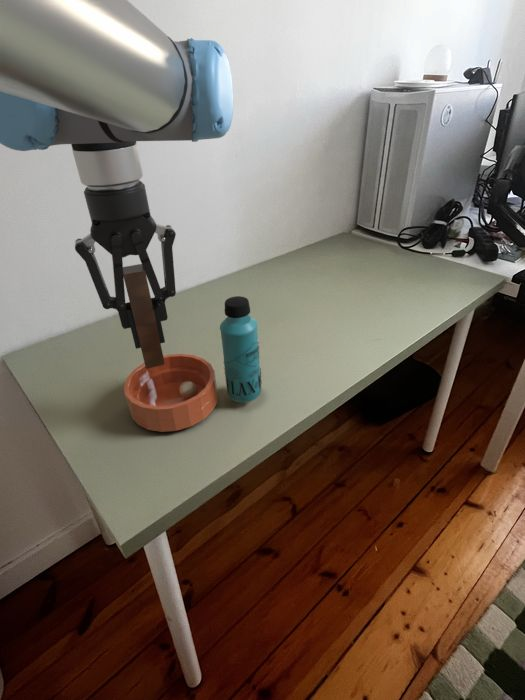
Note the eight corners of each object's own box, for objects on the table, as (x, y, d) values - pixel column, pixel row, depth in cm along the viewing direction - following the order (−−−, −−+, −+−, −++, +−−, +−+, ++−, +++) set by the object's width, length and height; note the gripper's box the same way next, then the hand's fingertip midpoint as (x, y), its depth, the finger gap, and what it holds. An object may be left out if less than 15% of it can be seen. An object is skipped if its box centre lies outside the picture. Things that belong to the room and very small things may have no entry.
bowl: (178, 448, 70) (172, 421, 66) (113, 416, 77) (104, 389, 74) (235, 394, 80) (232, 368, 77) (173, 370, 88) (167, 345, 85)
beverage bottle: (221, 405, 78) (208, 307, 67) (236, 383, 83) (226, 289, 72) (254, 413, 76) (246, 313, 65) (268, 390, 81) (263, 293, 70)
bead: (198, 394, 76) (190, 378, 77) (182, 402, 77) (174, 386, 77) (202, 392, 80) (194, 377, 80) (186, 400, 80) (179, 385, 80)
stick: (162, 355, 71) (142, 263, 62) (165, 364, 69) (145, 270, 60) (143, 359, 70) (121, 267, 62) (146, 369, 68) (123, 274, 59)
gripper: (171, 170, 60) (195, 320, 72) (47, 185, 55) (95, 340, 68) (182, 181, 54) (205, 341, 66) (43, 198, 49) (96, 366, 62)
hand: (149, 341), depth 67 cm, fingers closed on stick, 3 cm apart
